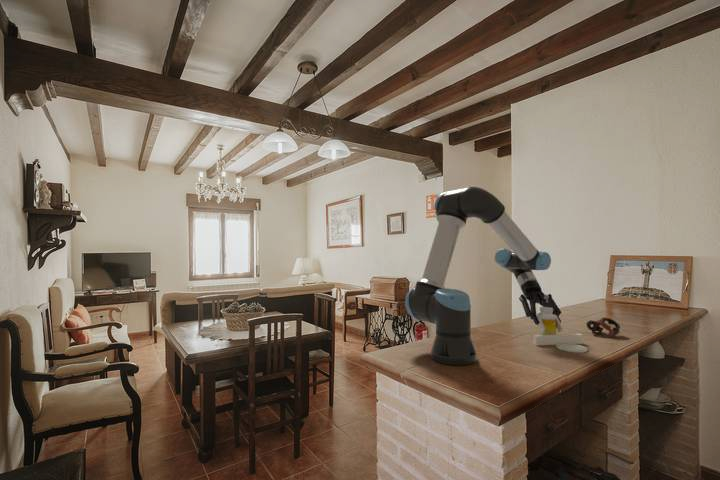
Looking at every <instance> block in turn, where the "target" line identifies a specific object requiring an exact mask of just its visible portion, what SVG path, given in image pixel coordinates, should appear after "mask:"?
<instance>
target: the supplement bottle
mask: <svg viewBox="0 0 720 480" xmlns="http://www.w3.org/2000/svg"><path fill="white" fill-rule="evenodd" d="M539 311H540V312H539V313H538V314H537V315H539V317H540V319H541V321H542V323H543V325H544V327H545V331H544V332H543V333H541V332H540V330H539V327H538V326H537V335H556V334H557V328H556V316H555V315H554V314H552V312H553V308H550V307H543V306H541V307H539Z"/></svg>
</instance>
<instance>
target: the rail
mask: <svg viewBox="0 0 720 480" xmlns="http://www.w3.org/2000/svg"><path fill="white" fill-rule="evenodd" d="M532 336H533V345H535V346H556V345H557V344H562V343H568V344H577V345H583V344H584V343H583V341H584V339H583V337H584V335H583V334H582V333H563V334H560V333H559V334H557V333H556V335H538V334H536V335H535V334H533V335H532Z"/></svg>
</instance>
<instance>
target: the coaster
mask: <svg viewBox="0 0 720 480" xmlns="http://www.w3.org/2000/svg"><path fill="white" fill-rule="evenodd" d="M555 346H556V348H557V349H558V350H560V351H562V352H568V353H576V354H579V353H580V354H581V353H586V352H588V350H589V349H588V348H587V346H583V345H582V344H568V343H562V344H557V345H555Z"/></svg>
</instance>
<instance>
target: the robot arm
mask: <svg viewBox="0 0 720 480" xmlns="http://www.w3.org/2000/svg"><path fill="white" fill-rule="evenodd" d="M433 208H434V210H435V211H434V212H435V215H436V217H435V219H436V221H437V222H438V224H437V227H436V231H435V234H434V238H433V240H432V241H433V242H432V244H431V247H430V251H429V254H428V257H427V261H426V265H425V266H424V270H423V275H422V277H421V279H419V280H416V283H415V287H414V288H412V289H410V290H409V291H407V293H406V296H405V297H404V298H405V299H404V305H405V309H406V312H407V314H408V315H409V316H410V317H412V318H413V319H415V320H418V321H421V322H427V323H430V324H434V325H435V338H434V341H433V343H432V346H431V350H430V357H431V359H432V360H433V361H434V362H436V363H440V364H443V365H448V366H449V365H450V366H469V365H472V364H475V363H476V362H477V352H476V348H475V346H474V342H473V340H472V336H471V331H472V329H471V326H472V325H471V308H472V307H471V302H470V301H471V300H470V296H469V294H467V293H466V292H465V291H463V290H459V289H455V288H454V289H453V288H446V287H445V283H446V279H447V275H448V271H449V268H450V265H451V263H452V259H453V254H454V251H455V247H456V243H457V242H458V237H459V235H460V230H461V229H462V228H464V227H465V226H466V224H467V220H468V218H477V219H480V220H481V221H482V222H483V224H485V225H489V226H490V227H491V229H493V231H494V232H495V233H496V234H497V235H498V236H499V237H500V238H501V239H502V241H503V242H504V243H505V244H506V245H507V246H508V247H509V248H510V249H508V248H504V247H503V248H500V249H498V250H497V251H496V252H495V255H494V261H495V262H496V263H497V264H498V265H499V266H500V267H502V268H504V269H506V270H508V271H509V272H510V273H512V274H513V275H514V277H515V279H516V281H517V283H518V285H519V288H520V290H521V291H522V293H523V294H522V293H521V294H520V296H519V297H518V299H519V301H520V302H521V305H522V307H523V311H524V313H525V316H526V318H530V319H531V320H533V323H534V324H535V325H536V326H537V328H538V327H539V330H540V332H541V333H543V332H544V331H545V327H544V325H543V323H542V321H541V319H540V317H539V315H538V314H537V305H536V304H539V305H540V306H541V307H550V308H553V312H552V314H554V315H555V316H556V331H557V333H561V332H562V331H563V330H564V327H563V325H562V320H561V319H560V315H561V314H562V311H561V309H560V308H559V306H558V305H557V303H556V302H555V300H554V299H553V296H552V294H551V293H548V294H545V293H544V292H543V291H542V287H541V285H540V283H539V281H538V279H537V277H536V275H535V274H534V272H533V271H546V270H548V269H549V268H550V266H551V265H552V258H551V255H550V254H549V252H547V251H546V252H545V251H539V250H538V249H537V248H536V246H534V243H532V241H530V239H529V238H528V237H527V236H526V234H525V233H524V232H523V231H522V230H521V228H519V226H518V225H517V223H516V222H515V221H514V220H513V219H512V218H511V217H510V216H509V214H508V213H507V212H506V207H505V205H504V204H503V203H502V202H501V201H500V199H499V198H498V197H496V196H495V195H494V194H493V193H491V192H489V191H488V190H486V189H484V188H481V187H478V186H468V187H465V188H464V187H463V188H459V189H450V190H447V191H445V192H442V193H440V194H439V195H438V196H437V198H436V199H435V201H434V206H433Z"/></svg>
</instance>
